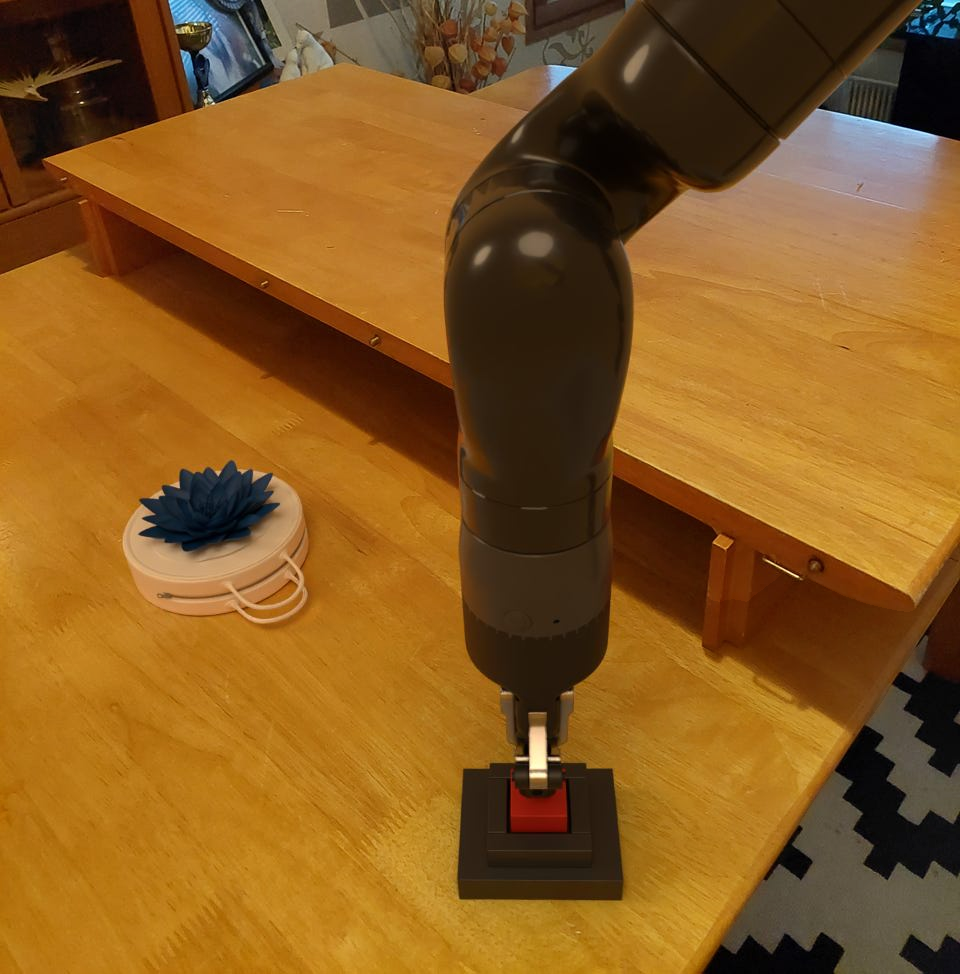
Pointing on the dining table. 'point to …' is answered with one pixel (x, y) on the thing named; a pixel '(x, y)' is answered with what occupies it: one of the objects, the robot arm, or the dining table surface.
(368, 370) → the dining table surface
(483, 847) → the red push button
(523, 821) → the red button cap
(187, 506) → the lotus flower trinket box
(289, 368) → the dining table surface
